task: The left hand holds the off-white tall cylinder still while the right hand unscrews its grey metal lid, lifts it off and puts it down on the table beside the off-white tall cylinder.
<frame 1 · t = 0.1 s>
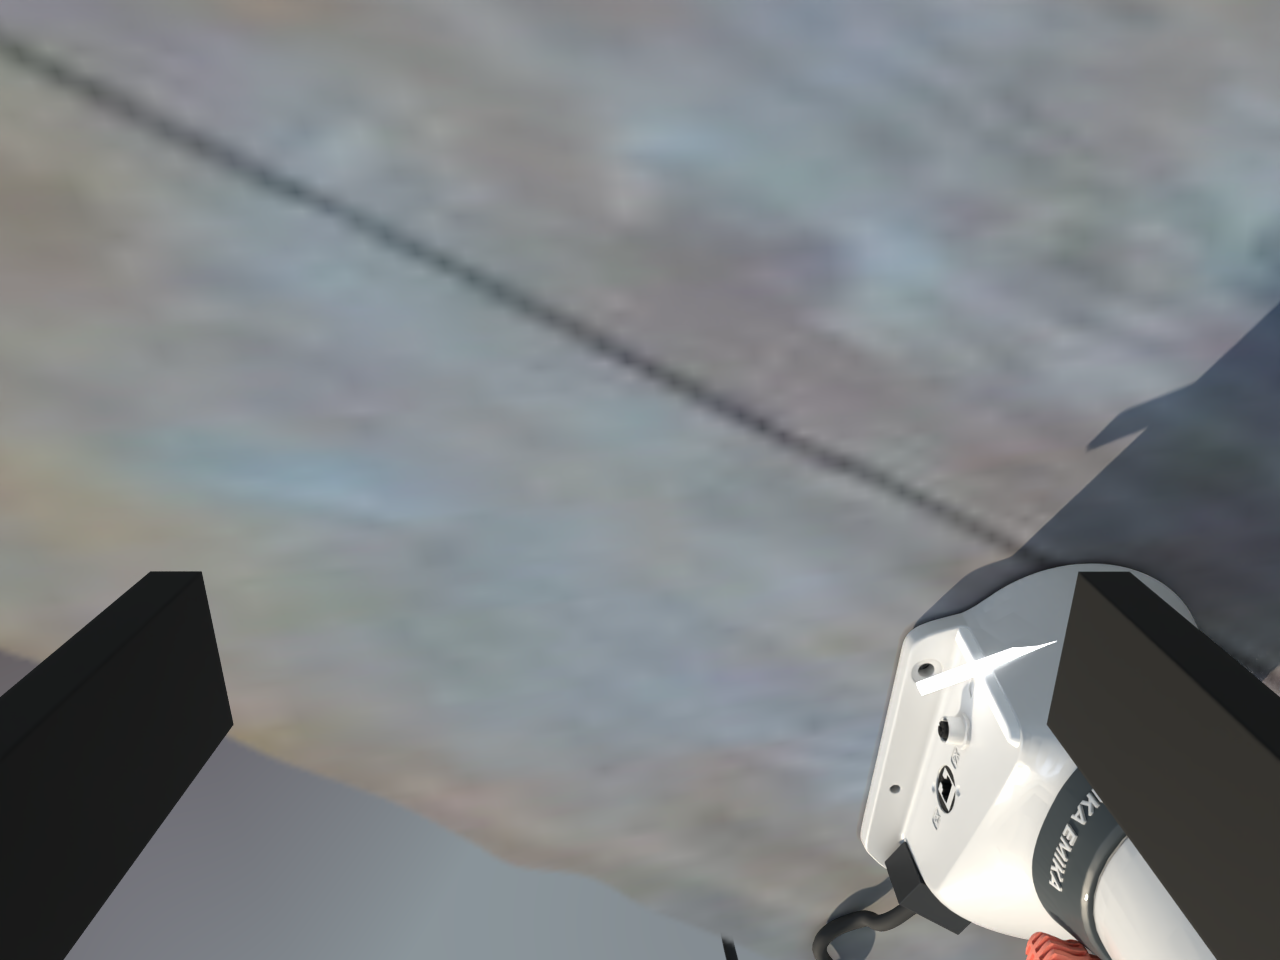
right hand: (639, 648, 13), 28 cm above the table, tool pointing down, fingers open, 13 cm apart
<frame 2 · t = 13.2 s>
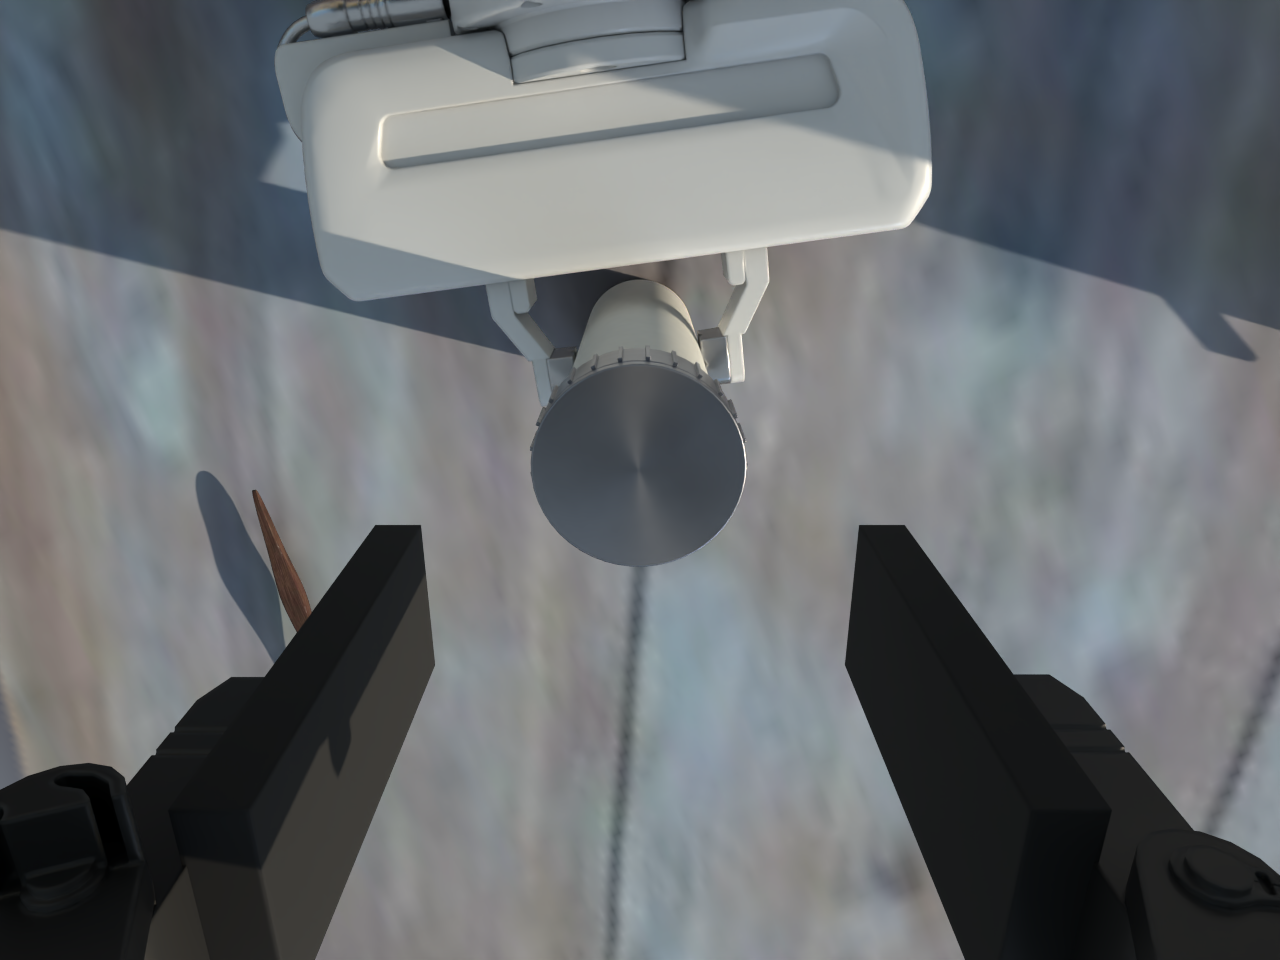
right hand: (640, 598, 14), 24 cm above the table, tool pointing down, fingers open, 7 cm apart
left hand: (643, 390, 31), fingers closed on off-white tall cylinder, 4 cm apart
off-white tall cylinder: (639, 332, 37), on the table, touching left hand
lid: (638, 465, 21), point 17 cm above the table, screwed on, not yet turned
fork: (314, 630, 42), on the table
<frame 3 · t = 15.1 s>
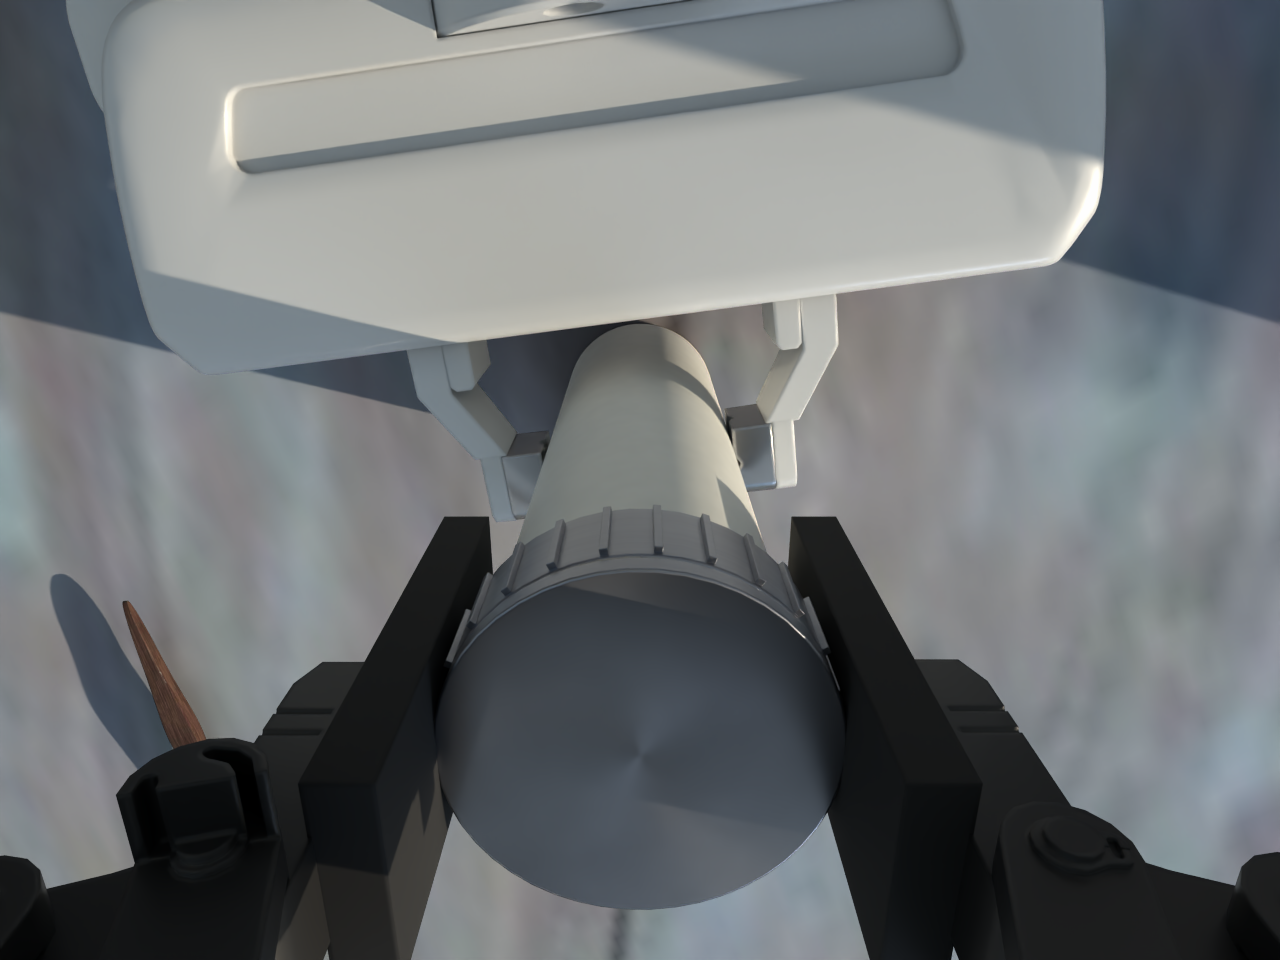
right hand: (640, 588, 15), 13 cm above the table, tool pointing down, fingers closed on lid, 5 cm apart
left hand: (646, 496, 21), fingers closed on off-white tall cylinder, 4 cm apart
off-white tall cylinder: (640, 394, 27), on the table, touching left hand
lid: (640, 737, 11), point 17 cm above the table, screwed on, not yet turned, touching right hand
fork: (216, 772, 32), on the table
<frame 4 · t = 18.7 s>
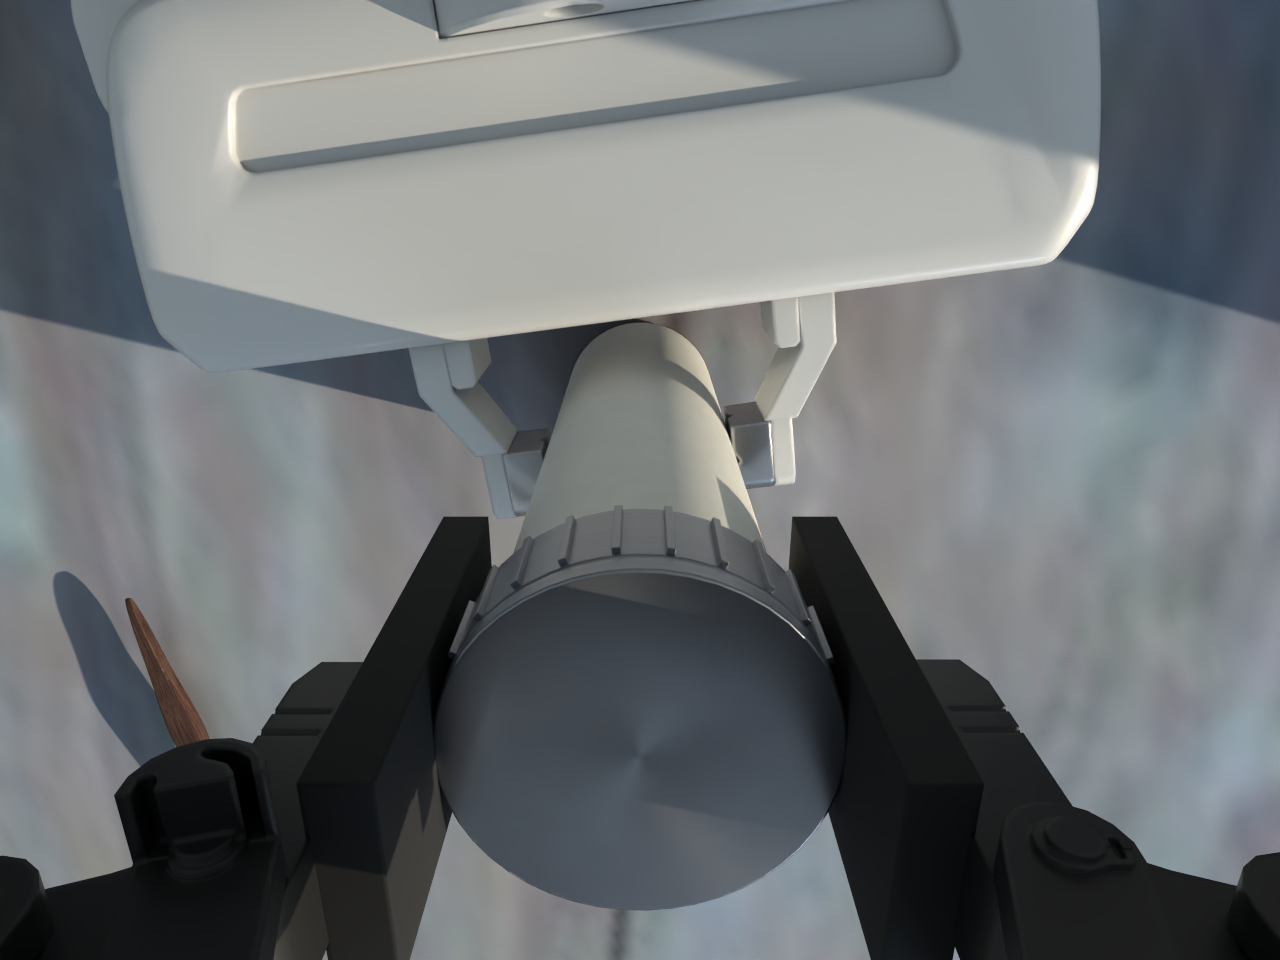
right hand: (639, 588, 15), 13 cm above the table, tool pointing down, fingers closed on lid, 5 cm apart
left hand: (646, 493, 21), fingers closed on off-white tall cylinder, 4 cm apart
off-white tall cylinder: (640, 392, 27), on the table, touching left hand
lid: (640, 737, 11), point 17 cm above the table, turned 126° so far, risen 0.2 cm, still on its thread, touching right hand
fork: (218, 768, 32), on the table
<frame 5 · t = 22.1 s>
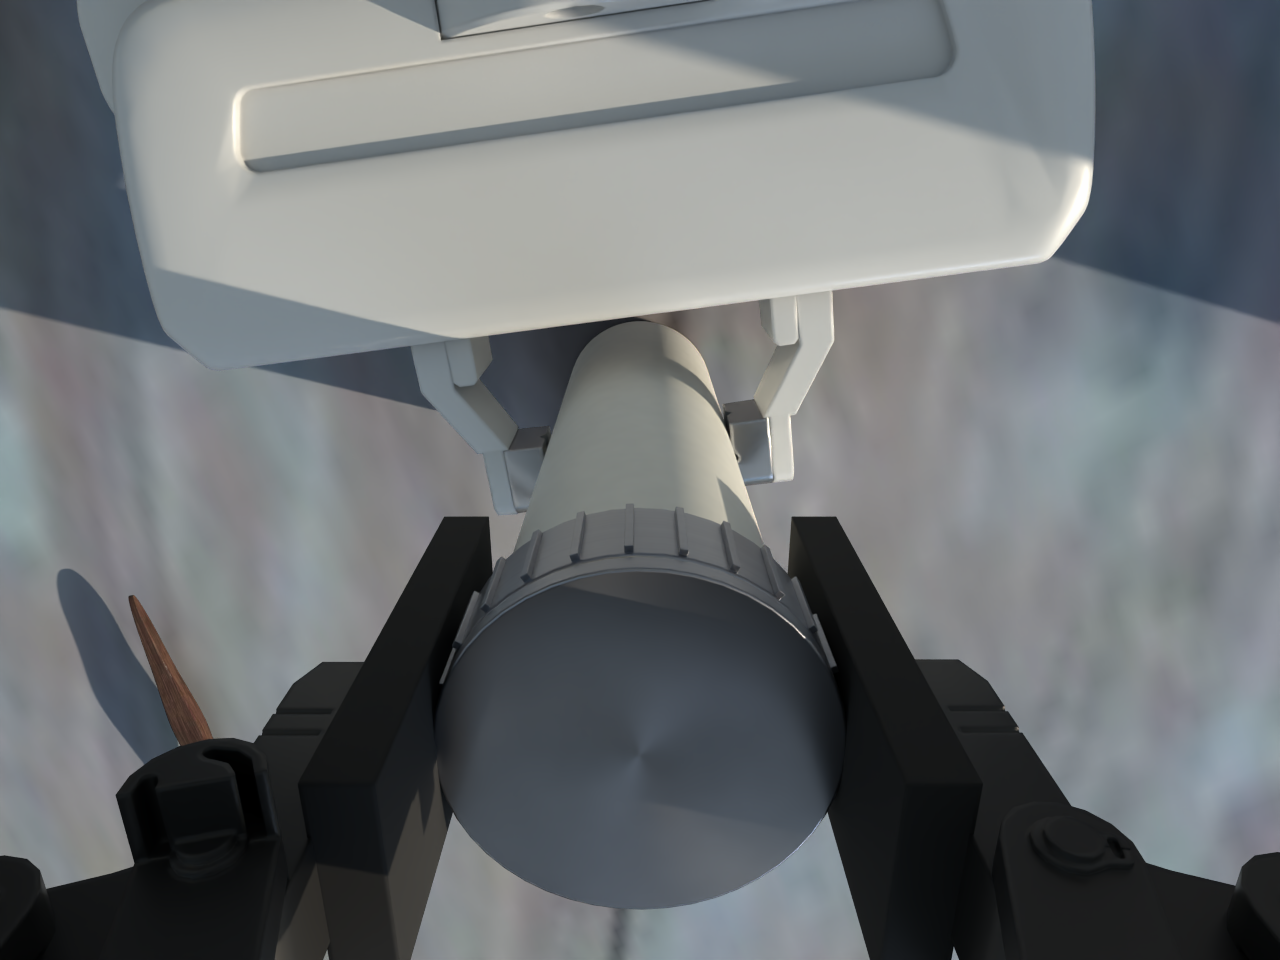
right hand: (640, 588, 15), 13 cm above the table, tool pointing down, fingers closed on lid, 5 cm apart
left hand: (646, 490, 21), fingers closed on off-white tall cylinder, 4 cm apart
off-white tall cylinder: (640, 390, 27), on the table, touching left hand
lid: (639, 737, 11), point 18 cm above the table, turned 253° so far, risen 0.4 cm, still on its thread, touching right hand
fork: (221, 765, 33), on the table
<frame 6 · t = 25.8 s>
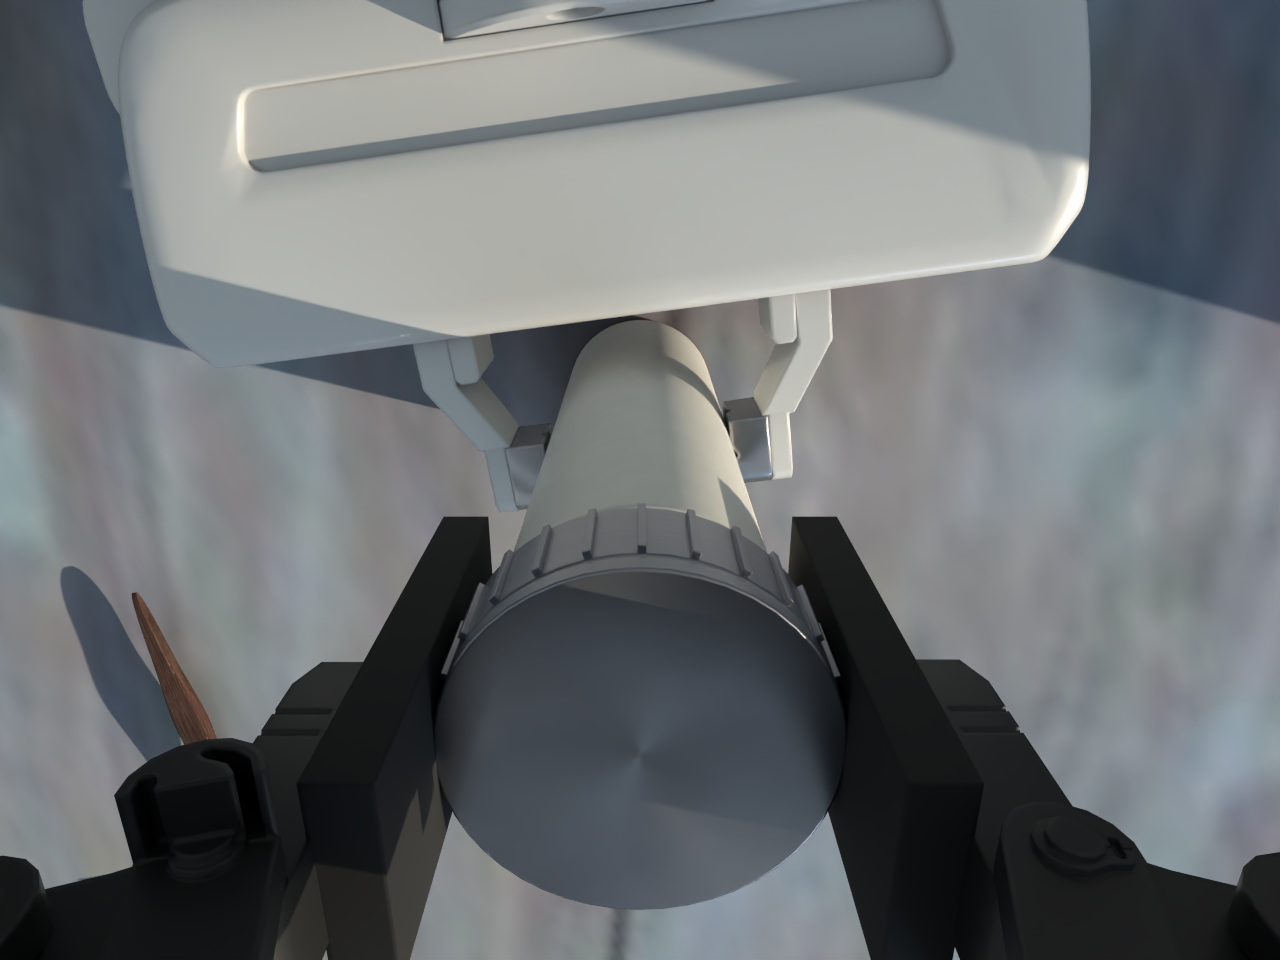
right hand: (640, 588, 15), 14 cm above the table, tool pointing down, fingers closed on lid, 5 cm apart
left hand: (646, 487, 22), fingers closed on off-white tall cylinder, 4 cm apart
off-white tall cylinder: (640, 389, 27), on the table, touching left hand
lid: (640, 737, 11), point 18 cm above the table, turned 379° so far, risen 0.6 cm, still on its thread, touching right hand
fork: (223, 761, 33), on the table
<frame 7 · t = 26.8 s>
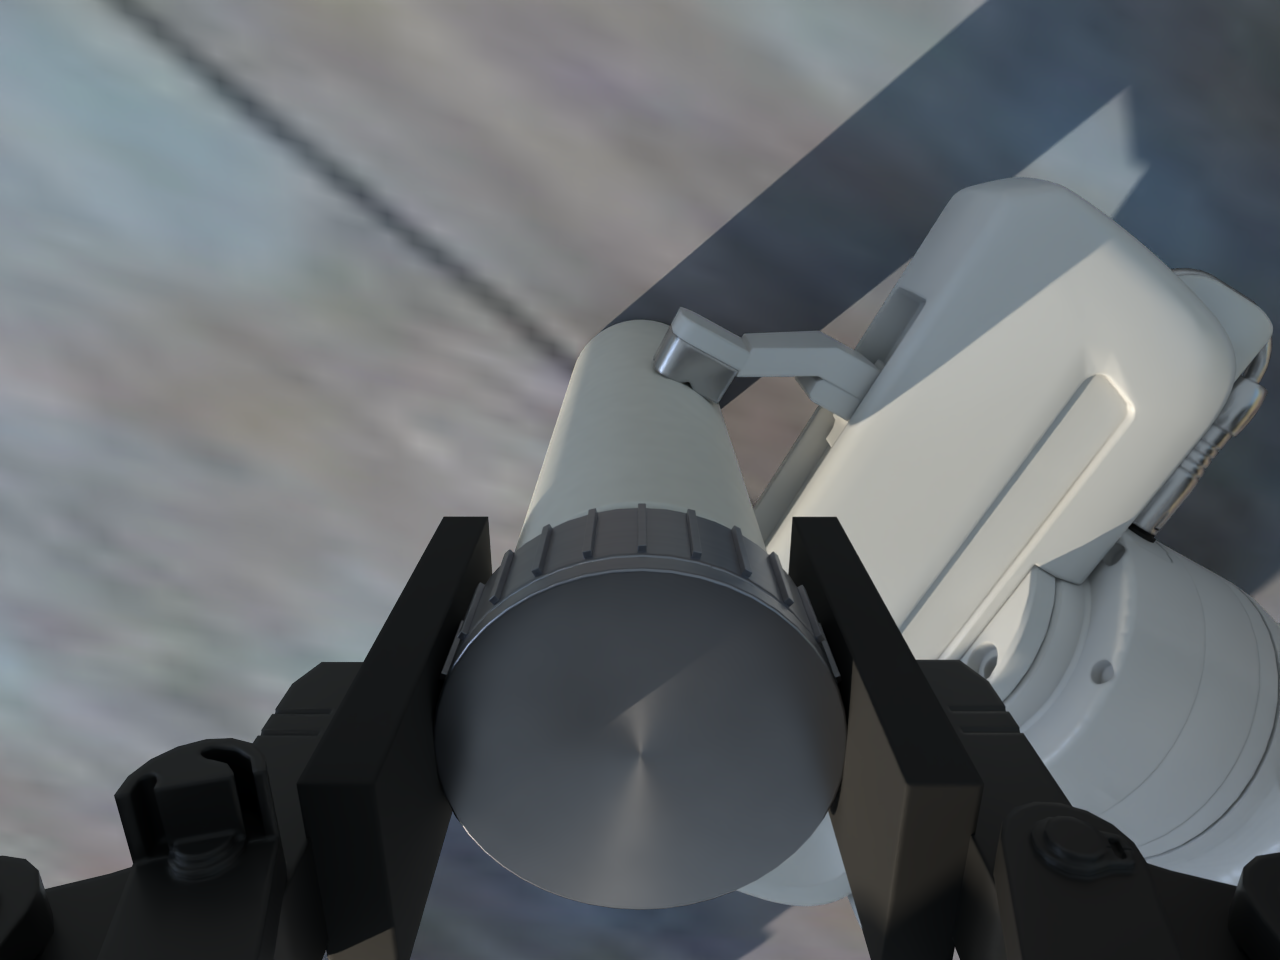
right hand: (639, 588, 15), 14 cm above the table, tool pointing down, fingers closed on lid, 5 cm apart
left hand: (608, 439, 21), fingers closed on off-white tall cylinder, 4 cm apart
off-white tall cylinder: (640, 388, 28), on the table, touching left hand
lid: (640, 737, 11), point 18 cm above the table, off its thread, touching right hand
when the right hand's fingers open (0 cm above the table, at t = 33.2 s): lid drops 3 cm, point 2 cm above the table.
when the left hand's fingers open (7 cm above the table, at t = 33.8 s): off-white tall cylinder stays where it is, on the table.
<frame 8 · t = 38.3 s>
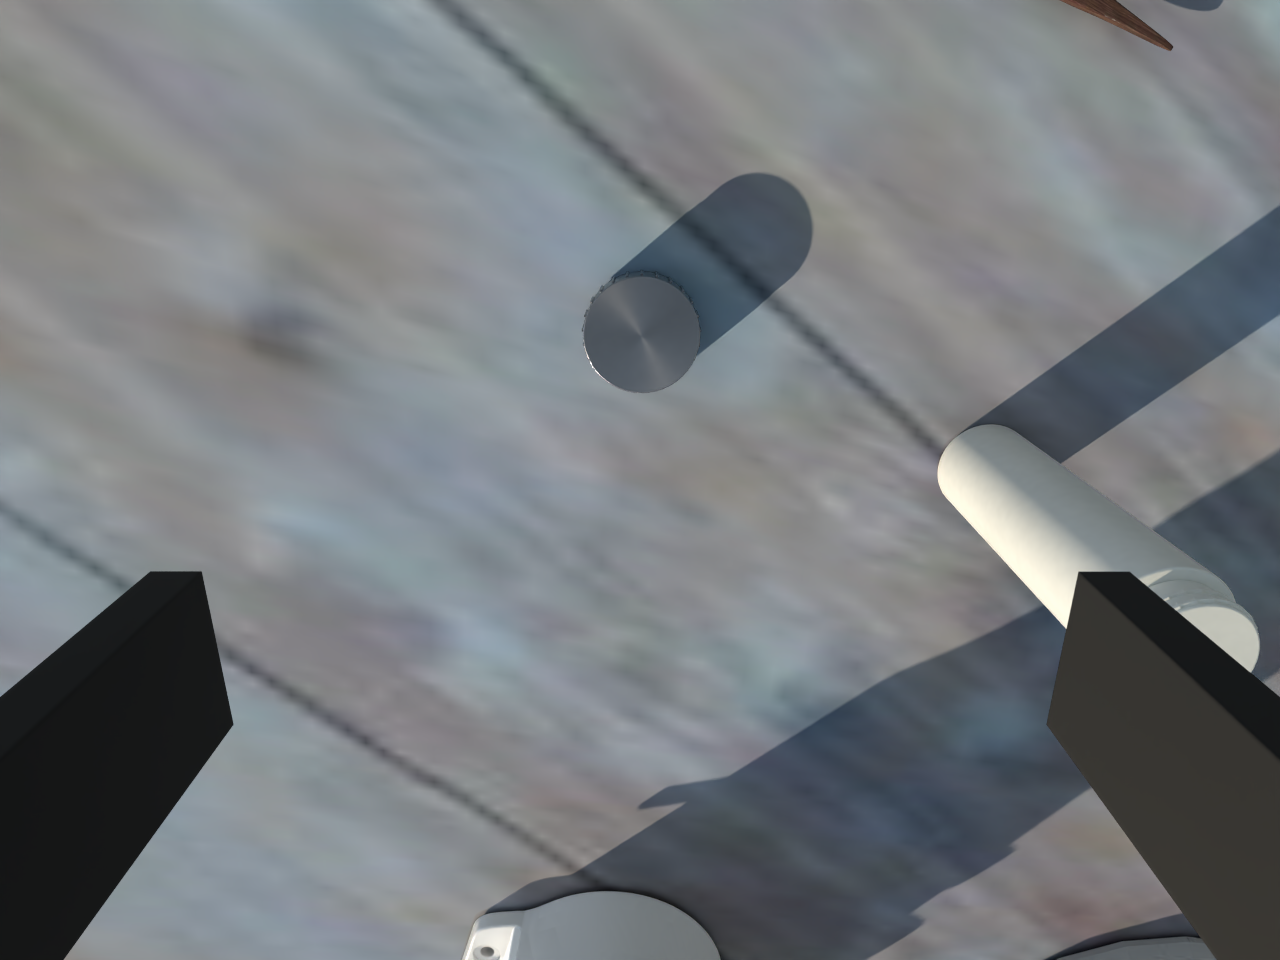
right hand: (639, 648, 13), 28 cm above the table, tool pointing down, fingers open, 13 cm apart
off-white tall cylinder: (983, 467, 41), on the table
lid: (641, 334, 38), point 2 cm above the table, off its thread
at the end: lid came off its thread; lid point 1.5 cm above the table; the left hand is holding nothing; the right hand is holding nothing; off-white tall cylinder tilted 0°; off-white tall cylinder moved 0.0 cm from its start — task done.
